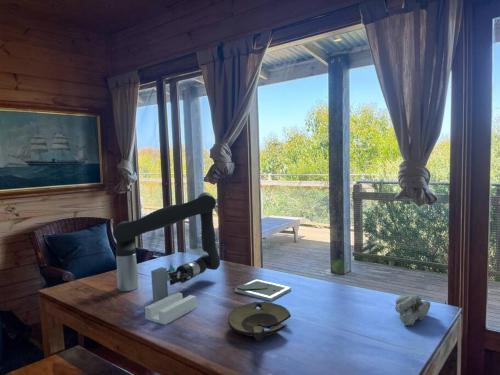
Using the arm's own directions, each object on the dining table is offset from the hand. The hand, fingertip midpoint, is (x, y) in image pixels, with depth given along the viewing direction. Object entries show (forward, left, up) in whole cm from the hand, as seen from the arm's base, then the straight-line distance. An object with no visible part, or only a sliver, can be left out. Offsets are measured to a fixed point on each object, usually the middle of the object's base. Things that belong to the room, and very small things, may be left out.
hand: (163, 281), depth 161 cm
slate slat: (0, -2, -9) cm, 9 cm away
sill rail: (+12, -8, -9) cm, 17 cm away
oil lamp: (+51, -5, -9) cm, 52 cm away
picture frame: (+33, +30, -10) cm, 46 cm away
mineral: (+97, +30, -9) cm, 102 cm away
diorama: (-20, +30, -10) cm, 38 cm away
